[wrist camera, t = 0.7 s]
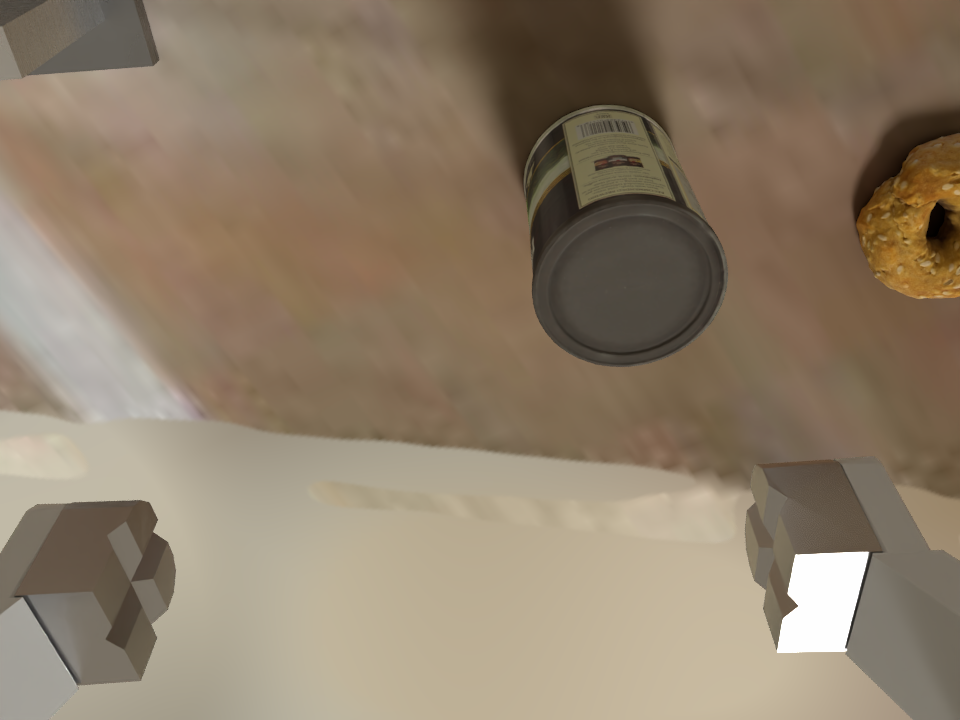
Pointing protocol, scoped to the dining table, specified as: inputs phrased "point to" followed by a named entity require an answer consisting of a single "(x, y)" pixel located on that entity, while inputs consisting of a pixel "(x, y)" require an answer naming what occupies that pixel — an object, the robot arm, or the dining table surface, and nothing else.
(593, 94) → the dining table surface
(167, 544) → the robot arm
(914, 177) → the bagel
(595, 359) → the coffee can
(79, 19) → the cup bracket
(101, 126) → the dining table surface
